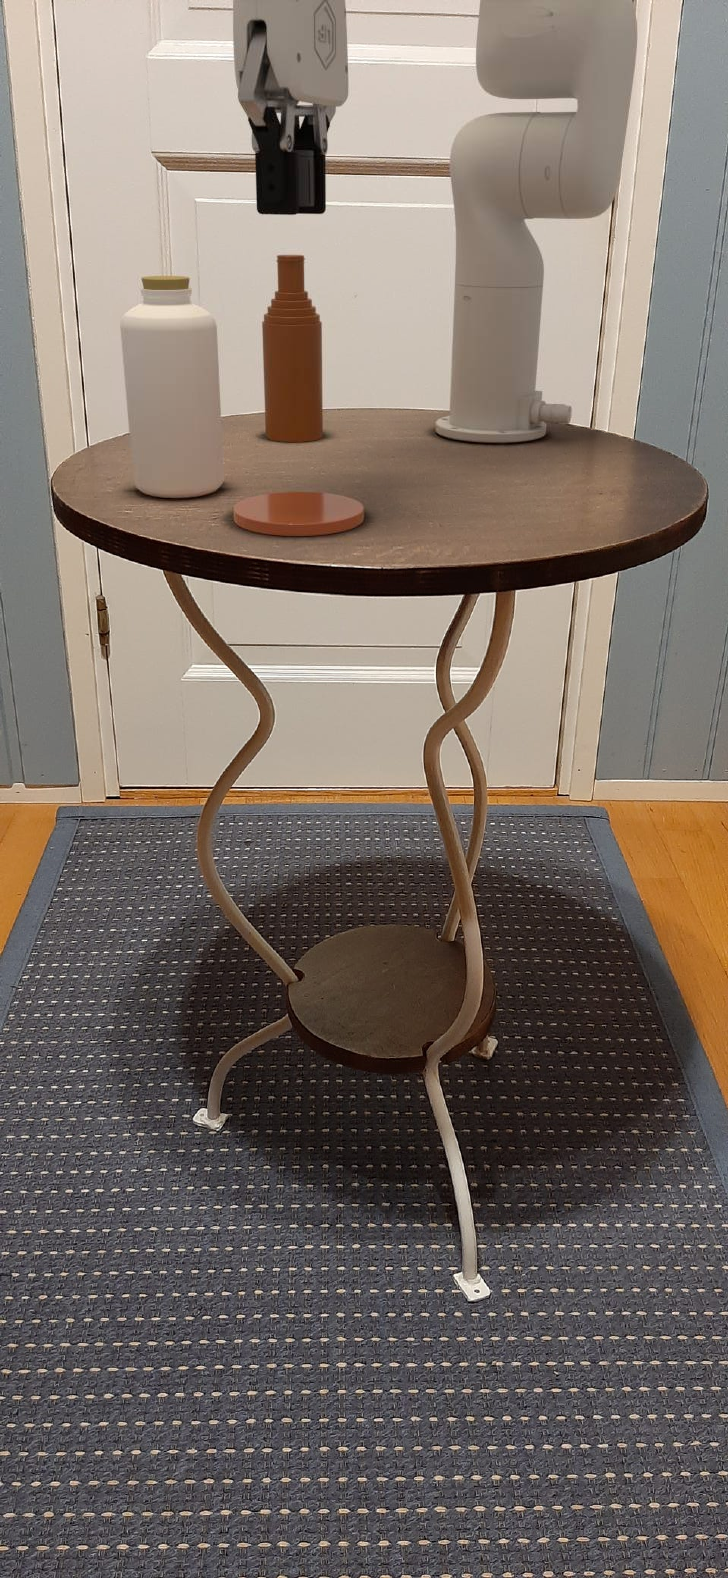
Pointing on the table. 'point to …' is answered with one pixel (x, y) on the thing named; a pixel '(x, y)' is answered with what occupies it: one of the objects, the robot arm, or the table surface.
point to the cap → (306, 177)
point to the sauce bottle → (292, 359)
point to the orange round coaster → (298, 513)
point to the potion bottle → (172, 391)
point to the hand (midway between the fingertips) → (291, 211)
